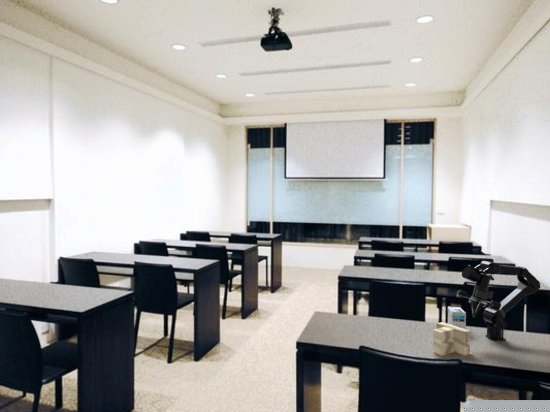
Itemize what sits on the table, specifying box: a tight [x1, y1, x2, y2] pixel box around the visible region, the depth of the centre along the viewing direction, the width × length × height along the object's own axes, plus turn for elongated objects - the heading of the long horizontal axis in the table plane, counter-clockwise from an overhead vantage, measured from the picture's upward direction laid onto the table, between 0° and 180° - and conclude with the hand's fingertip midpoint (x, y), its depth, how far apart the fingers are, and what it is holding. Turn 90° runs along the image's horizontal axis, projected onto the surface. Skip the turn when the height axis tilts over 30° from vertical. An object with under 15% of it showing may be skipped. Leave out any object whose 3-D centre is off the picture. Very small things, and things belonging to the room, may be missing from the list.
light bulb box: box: [447, 306, 467, 330], centre depth 203 cm, size 11×7×11 cm, turn 168°
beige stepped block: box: [432, 321, 471, 356], centre depth 175 cm, size 13×14×10 cm
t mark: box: [430, 350, 473, 357], centre depth 175 cm, size 14×16×1 cm
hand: (473, 316), depth 185 cm, fingers closed
